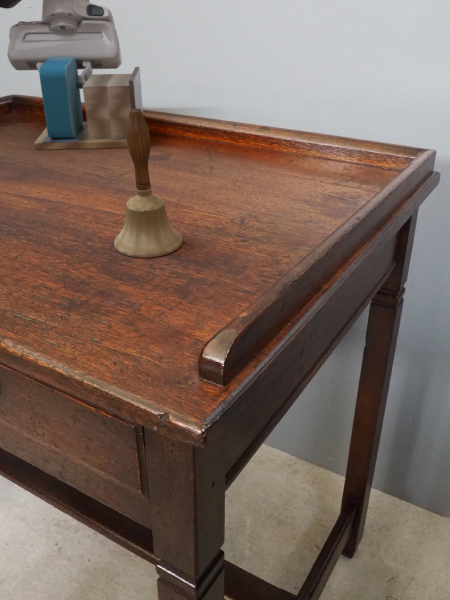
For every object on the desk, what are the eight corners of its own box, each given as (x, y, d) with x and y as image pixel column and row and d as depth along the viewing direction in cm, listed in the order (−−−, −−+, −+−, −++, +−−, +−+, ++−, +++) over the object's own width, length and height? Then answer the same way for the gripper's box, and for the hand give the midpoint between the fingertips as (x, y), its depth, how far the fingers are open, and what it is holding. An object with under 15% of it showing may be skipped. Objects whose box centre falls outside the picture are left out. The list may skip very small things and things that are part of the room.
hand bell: (152, 264, 70) (141, 123, 62) (99, 247, 74) (82, 112, 66) (196, 238, 76) (191, 106, 68) (145, 223, 80) (134, 96, 72)
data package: (59, 122, 117) (50, 55, 111) (83, 121, 118) (76, 55, 111) (48, 140, 107) (38, 67, 101) (74, 140, 107) (66, 67, 101)
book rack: (35, 149, 107) (23, 83, 102) (50, 129, 118) (41, 67, 113) (138, 147, 108) (133, 81, 102) (144, 127, 119) (139, 66, 113)
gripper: (4, 10, 111) (0, 77, 108) (118, 8, 112) (117, 75, 108) (15, 33, 117) (11, 98, 114) (123, 31, 118) (122, 96, 114)
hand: (64, 87), depth 111 cm, fingers closed on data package, 5 cm apart
